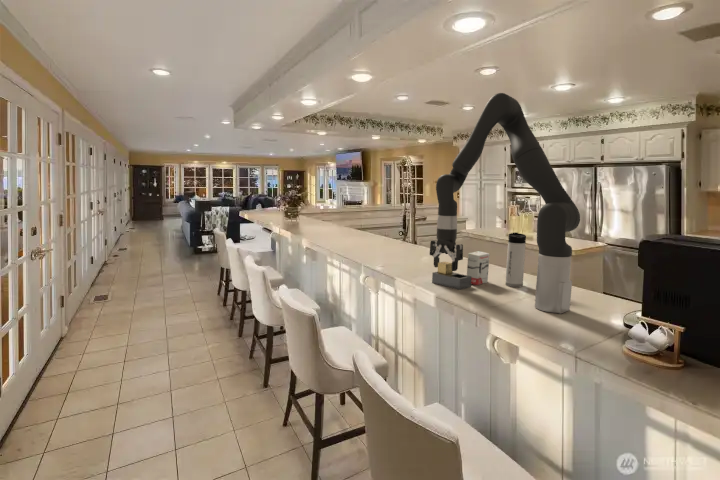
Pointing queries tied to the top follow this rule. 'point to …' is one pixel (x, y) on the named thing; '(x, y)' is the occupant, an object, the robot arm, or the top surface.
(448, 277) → the grey hollow block
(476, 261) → the ink box
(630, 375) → the top surface
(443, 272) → the tan wooden block
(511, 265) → the travel mug
